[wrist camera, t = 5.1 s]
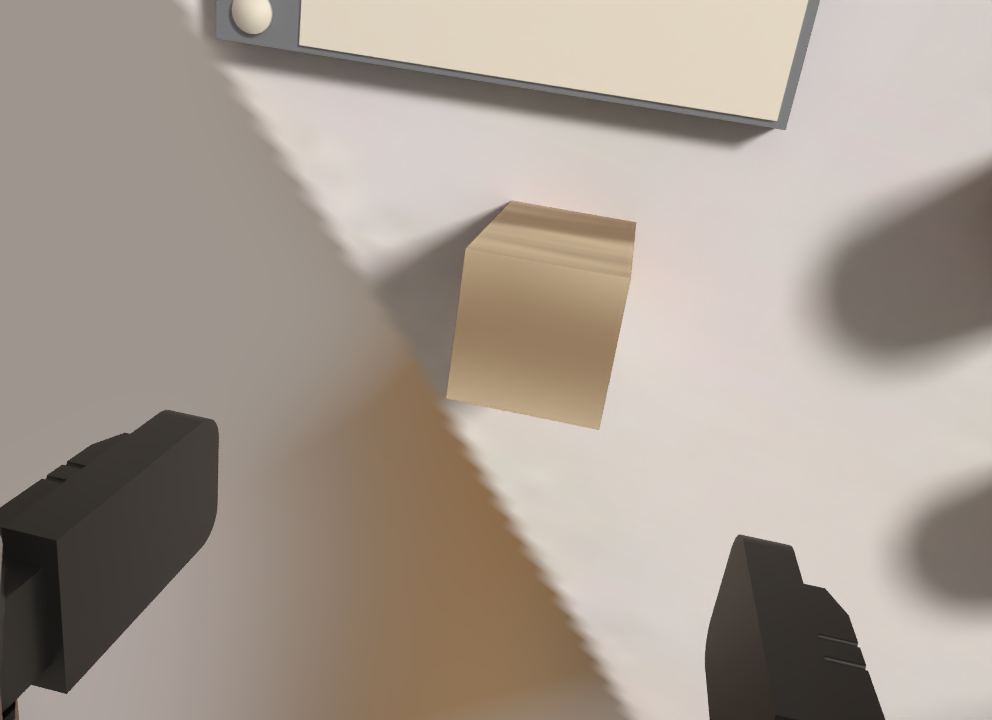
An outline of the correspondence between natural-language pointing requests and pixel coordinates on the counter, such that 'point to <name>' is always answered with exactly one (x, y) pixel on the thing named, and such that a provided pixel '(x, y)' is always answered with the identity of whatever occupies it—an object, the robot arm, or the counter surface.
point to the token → (542, 313)
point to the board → (563, 46)
